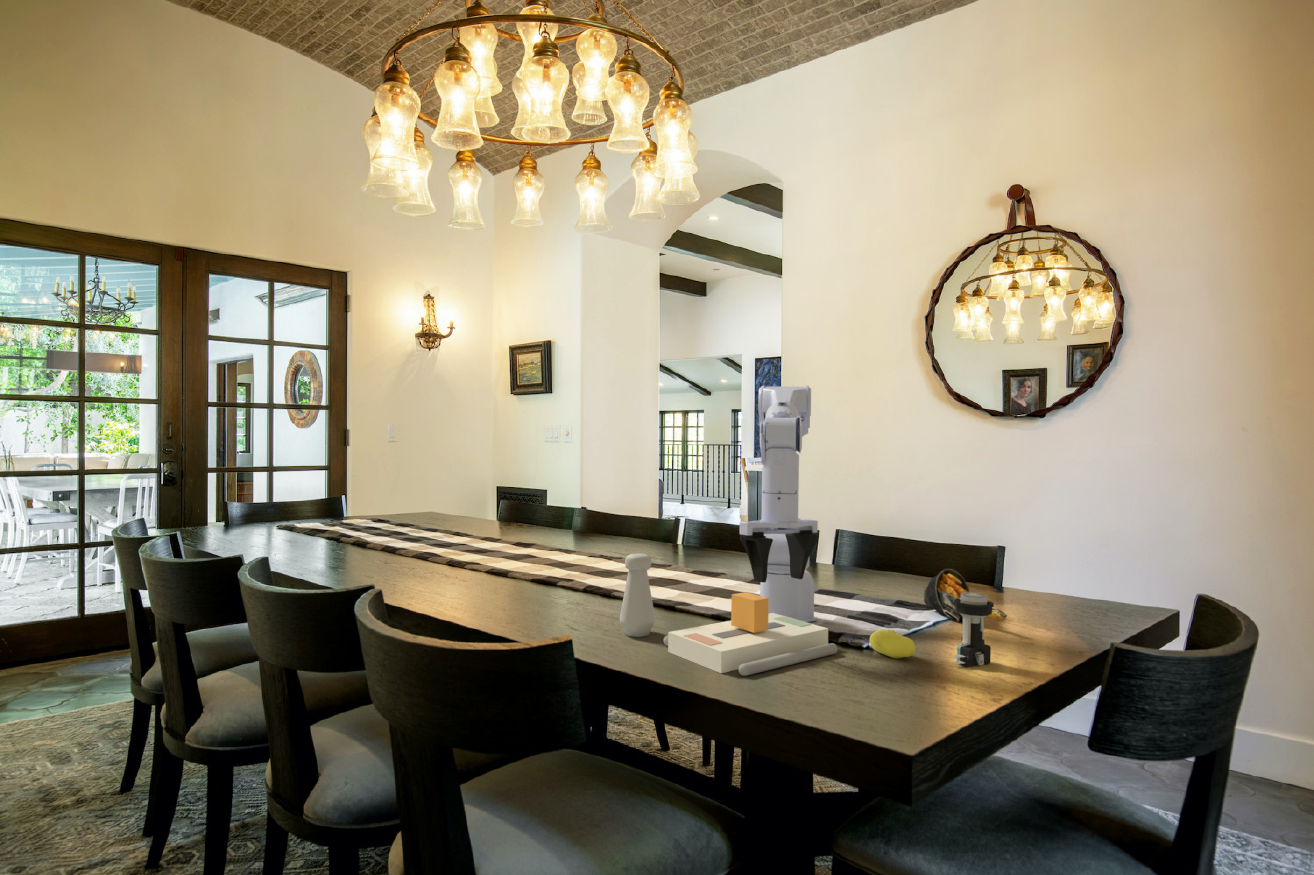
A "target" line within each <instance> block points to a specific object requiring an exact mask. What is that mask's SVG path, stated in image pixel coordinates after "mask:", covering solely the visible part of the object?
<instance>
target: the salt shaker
mask: <svg viewBox="0 0 1314 875" xmlns="http://www.w3.org/2000/svg"><path fill="white" fill-rule="evenodd" d="M624 566H625V568H626V569H627V570H628V572H627V578H626V581H625V582H626V583H625V587H624V594H623V597H622V598H623V599H622V604H621V608H620V615H619V624H620V625H621V628H622V630H623V633H624V634H625V635H627V637H634V638H635V637H637V638H642V637H647V636H650V634H651V631H652V628H653V627H654V625H655V622H656V617H655V616H656V615H655V610H654V603H653V599H652V598H653V597H652V593H651V586H650V580H649V576H648V575H649V574H648V570H651V568H652V557H651V556H650V555H649V554H646V553H641V552H639V553H637V552H636V553H631V554H628V555H627V556H626V557H625V560H624Z"/></svg>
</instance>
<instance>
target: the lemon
mask: <svg viewBox="0 0 1314 875" xmlns="http://www.w3.org/2000/svg"><path fill="white" fill-rule="evenodd" d="M869 644H870V646H871V647H872V648H873V650H875V651H876V652H878V653H879V654H882V655H884V656H887V657H890V658H892V659H898V660H899V659H902V658H907V657H911V656H913V655H914V654H915V652H916V648H917V647H916V645H915V642H914V640H912V638H909V637H907V636H904V635H902V634H899V633H897V632H896V631H895V630H889V629H888V630H887V629H881V628H880V629H878V630H875V631H874V632H872V634H871V635H870V636H869Z"/></svg>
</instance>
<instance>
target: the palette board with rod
mask: <svg viewBox="0 0 1314 875" xmlns="http://www.w3.org/2000/svg"><path fill="white" fill-rule="evenodd" d="M663 643H664V645H665V646H667V647H668V635H665V636H664V637H663ZM837 652H838V646H837V644H835V643H832V642H831V643H828V644H825V645H821V646H817V647H813V648H808V649H804V650H800V651H795V652H791V653H787V654H783V655H778V656H774V657H770V658H766V659H761V660H757V661H753V662H748V663H744V664H741V665H740V666H739V668H738V669H737V670H738V674H740V675H741V676H743V677H746V676H751V675H754V674H755V675H756V674H759V673H762V672H767V671H771V670H774V669H779V668H782V667H783V668H784V667H786V666H791V665H795V664H798V663H799V664H800V663H803V662H807V661H811V660H815V659H819V658H820V659H821V658H823V657H824V658H825V657H828V656H832V655H835V654H836V653H837Z"/></svg>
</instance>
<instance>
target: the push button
mask: <svg viewBox="0 0 1314 875" xmlns="http://www.w3.org/2000/svg"><path fill="white" fill-rule="evenodd" d="M954 603H955V610H956V611H957V612H959V613H960V614H961V615H962V617H963V620H962V636H961V644H959V645H957V648H956V649H957V650H956V652H957V653H956V655H952V657H953V658H954V659H955V658H956V661H954V662H952V664H954V665H961V666H962V667H963V666H964V667H967V668H970V667H975V666H984V665H985V664H986V665H990V663H991V653H992V651H991V650H992V649H991V648H992V647H991V645H989V644H985V641H986V640H985V638H984V632H985V631H984V630H985V626H984V625H985V618H988V617H987V616H988V615H990V614H992V608H994V606H995V605H994V604H995V603H994V602H993V601H990V600H988V595H987V594H983V593H980V592H971V591H970V592H965V593H961V597H960V598H957V599H954Z"/></svg>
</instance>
